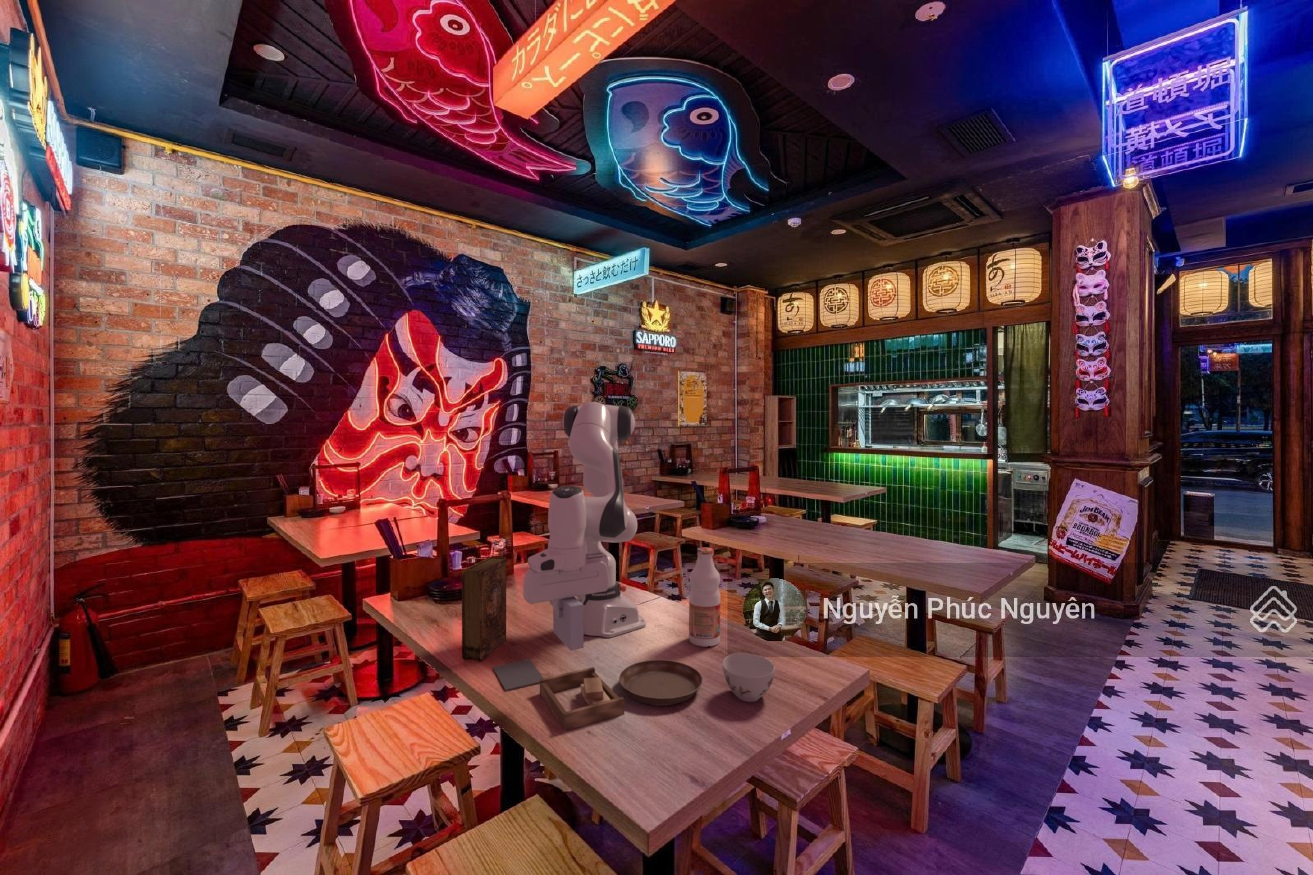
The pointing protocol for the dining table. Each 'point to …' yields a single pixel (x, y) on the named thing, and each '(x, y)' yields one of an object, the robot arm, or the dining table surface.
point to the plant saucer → (660, 682)
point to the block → (570, 623)
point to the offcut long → (605, 698)
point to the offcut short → (593, 689)
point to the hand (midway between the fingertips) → (567, 615)
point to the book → (483, 608)
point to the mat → (518, 674)
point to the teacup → (748, 675)
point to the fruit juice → (704, 601)
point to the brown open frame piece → (585, 713)
